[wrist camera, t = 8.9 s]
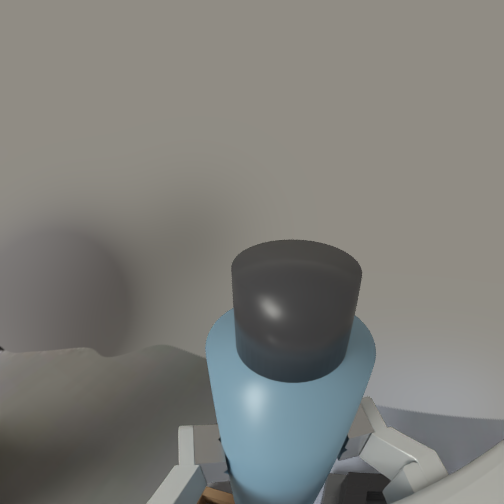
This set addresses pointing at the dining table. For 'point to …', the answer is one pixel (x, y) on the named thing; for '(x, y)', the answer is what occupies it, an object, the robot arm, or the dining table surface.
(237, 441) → the blue bottle
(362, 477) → the port
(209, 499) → the wooden square frame
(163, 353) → the dining table surface
